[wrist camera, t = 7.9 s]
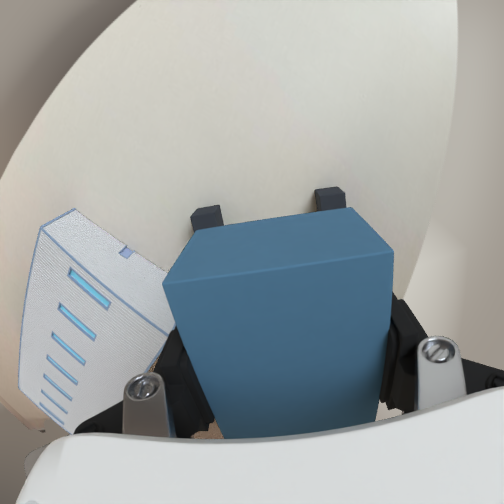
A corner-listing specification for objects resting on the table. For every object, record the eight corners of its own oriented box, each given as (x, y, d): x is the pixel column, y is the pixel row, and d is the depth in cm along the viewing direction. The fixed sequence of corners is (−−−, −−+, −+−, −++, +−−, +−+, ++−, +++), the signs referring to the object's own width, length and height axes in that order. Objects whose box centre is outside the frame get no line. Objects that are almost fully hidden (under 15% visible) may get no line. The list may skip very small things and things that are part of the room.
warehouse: (74, 207, 26) (26, 234, 19) (192, 288, 29) (171, 337, 22) (35, 365, 36) (12, 396, 29) (108, 414, 39) (92, 450, 32)
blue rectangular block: (351, 206, 10) (394, 250, 6) (354, 365, 13) (373, 432, 9) (195, 229, 11) (160, 283, 7) (237, 380, 14) (228, 449, 10)
